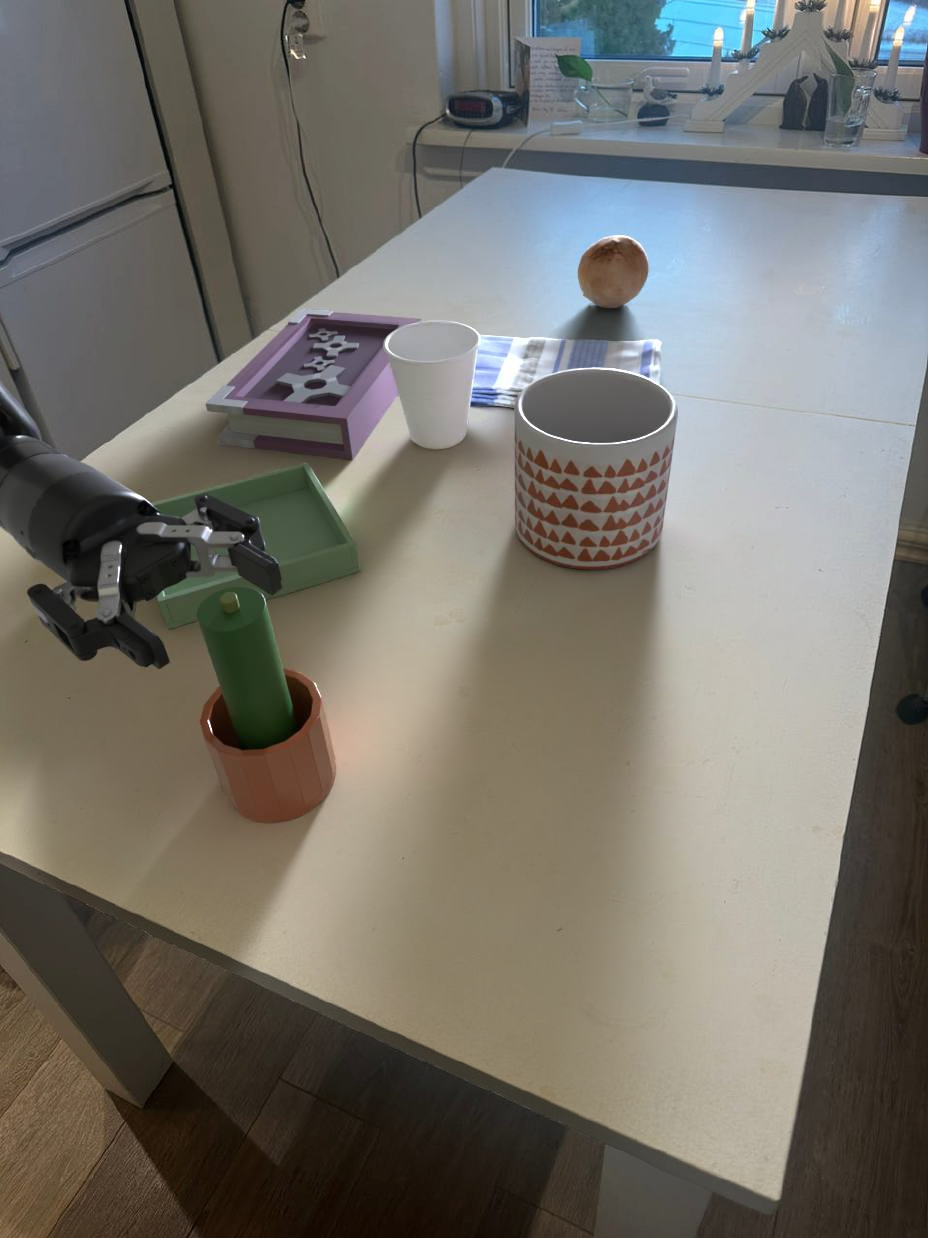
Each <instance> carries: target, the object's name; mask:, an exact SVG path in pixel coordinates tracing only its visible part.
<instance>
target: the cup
mask: <svg viewBox="0 0 928 1238" xmlns="http://www.w3.org/2000/svg"><path fill="white" fill-rule="evenodd" d="M479 335H480V334H479V332H478V331H476V329H474V328H472V327H471V326H469V325H466V324H463V323H459V322H456V321H448V320H425V321H422V322H419V323H414V324H410V325H406V326H403V327H401V328H399V329H397V330H395V331H393V332H392V333H390V334H389V335H388V336H387V337H386V339H385V340H384V343H383V348H384V351H385V352H386V354H387V355H388V358H389V362H390V365H391V369H392V372H393V376H394V380H395V382H396V386H397V390H398V393H399V394H398V397H399V400H400V404H401V407H402V411H403V414H404V419H405V422H406V425H407V428H408V432H409V436H410V439H411V440H412V442H414V443H415V444H416V445H418V446H419V447H422V448H423V449H428V450H445V449H450V448H452V447H455V446H456V445H458V444H459V443H461V442H462V441H463V440H464V439H465V438H466V436H467V433H468V425H469V418H470V417H469V416H470V410H471V409H470V408H471V405H470V402H471V394H472V386H473V380H474V373H475V366H476V358H477V351H478V348H479V345H480V343H481V338H480V336H479Z"/></svg>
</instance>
